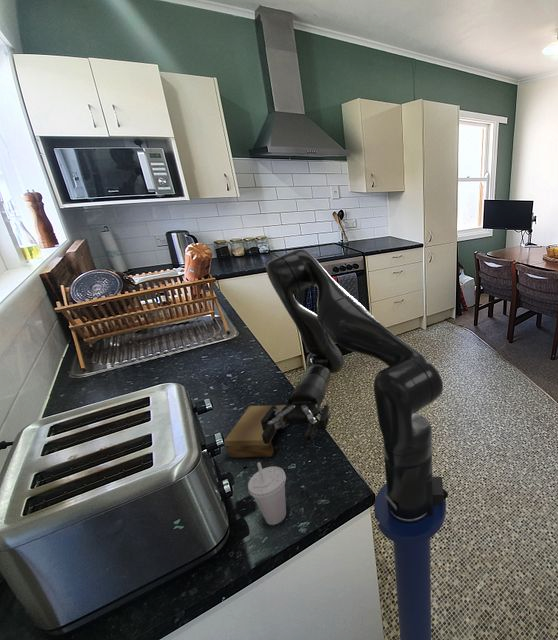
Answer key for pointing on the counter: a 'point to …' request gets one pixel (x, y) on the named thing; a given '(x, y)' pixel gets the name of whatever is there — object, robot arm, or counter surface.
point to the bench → (250, 434)
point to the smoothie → (269, 493)
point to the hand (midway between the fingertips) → (285, 440)
